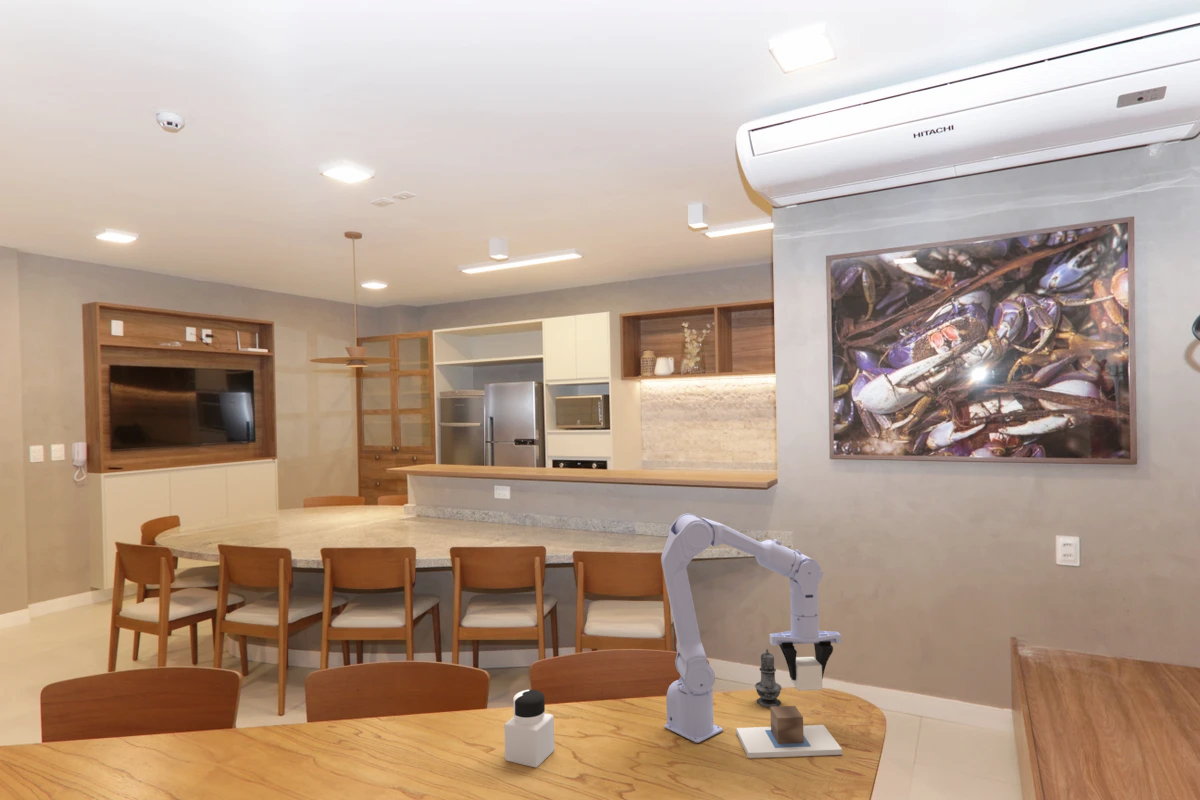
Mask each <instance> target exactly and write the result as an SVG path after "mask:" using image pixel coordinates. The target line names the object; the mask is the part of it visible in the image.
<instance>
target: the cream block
mask: <svg viewBox="0 0 1200 800" xmlns="http://www.w3.org/2000/svg"><path fill="white" fill-rule="evenodd" d="M790 681H791V683H792V684H793V685H794V688H796V689H797V691H799V692H801V691H802V692H804V691H822V690H823V679H822V665H821V664H820V663H819V662H818V661H817V660H816V657H814V656H796V680H792V679H791V678H790Z"/></svg>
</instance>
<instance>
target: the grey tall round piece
mask: <svg viewBox="0 0 1200 800" xmlns="http://www.w3.org/2000/svg"><path fill="white" fill-rule="evenodd" d="M769 651H770V650H769V649H768V648H767V649H766V650H765V652H763V653H762V654H761V655H760V667H759V671H760V681H758V682H756V683H755V684H754V688H755V689H756V693H757V694H758V696H759V697H758V698H757V699H756V703H757V705H758V706H761V707H764V708H769V709H770V707H775V706H781V701H780V700H779V699H778V697H780V694H781V690H782V685H781V684H779V683H778V682H776V676H775V675H776V671H777V669H776V668H775V656H774V655H773V654H772V653H771V652H769Z"/></svg>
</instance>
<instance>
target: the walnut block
mask: <svg viewBox="0 0 1200 800" xmlns="http://www.w3.org/2000/svg"><path fill="white" fill-rule="evenodd" d="M769 709H770V727H771V732H772V734H773V736H774V738H775V739H776V741H777V743H778V744H789V743H804V735H803V726H804V716H803V715H802V714H801V712H800V710H799V709H798V708H797V706H796V705H785V706H783V705H780V706H775V707H770V708H769Z"/></svg>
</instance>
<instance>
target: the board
mask: <svg viewBox="0 0 1200 800" xmlns="http://www.w3.org/2000/svg"><path fill="white" fill-rule="evenodd" d="M735 730H736V735H737V737H738V740H739V741H740V743H741V745H742V747H743V750H744V752H745V753H746V756H747V757H748V759H763V758H785V757H787V758H789V757H811V756H812V757H815V756H816V757H817V756H839V755H841V756H842V755H843V748H842V747H841V746H840V745H839V743H838V742H837V740H836V739H835V738H834V736H833V735H832V734H831V733H830V731H829V730H828V729H827V728H826V726H825V725H824V724H813V725H812V724H811V725H806V724H805V725H803V735H804V743H789V744H778V743H777V741H776V739H775V738H774V736H773V734H772V732H771V726H757V727H754V726H753V727H752V726H751V727H736V729H735Z"/></svg>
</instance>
